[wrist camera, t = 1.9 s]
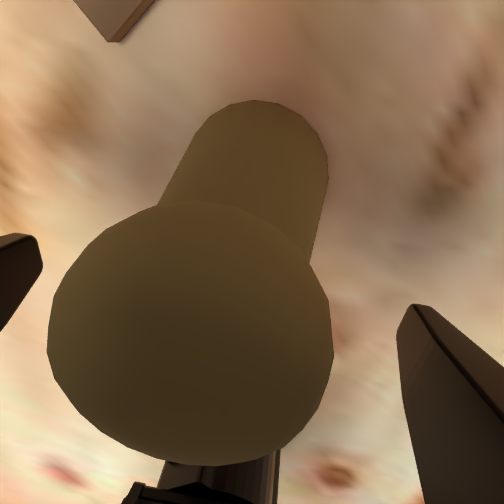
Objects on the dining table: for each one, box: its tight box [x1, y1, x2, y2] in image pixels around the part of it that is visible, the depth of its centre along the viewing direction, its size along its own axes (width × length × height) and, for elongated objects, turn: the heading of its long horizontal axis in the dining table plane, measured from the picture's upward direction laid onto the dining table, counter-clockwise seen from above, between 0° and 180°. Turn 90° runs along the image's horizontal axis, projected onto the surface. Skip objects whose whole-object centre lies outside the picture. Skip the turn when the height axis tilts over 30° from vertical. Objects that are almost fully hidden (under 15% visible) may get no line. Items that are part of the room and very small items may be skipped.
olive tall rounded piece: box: [47, 100, 334, 466], centre depth 10 cm, size 6×6×11 cm
